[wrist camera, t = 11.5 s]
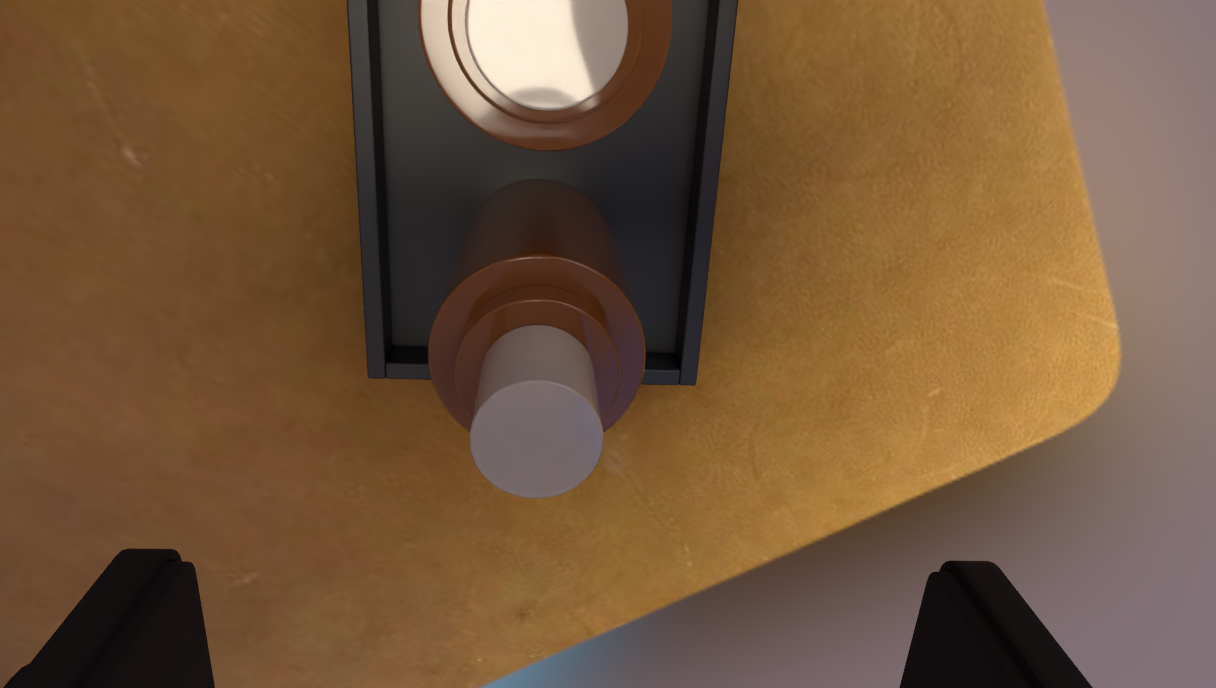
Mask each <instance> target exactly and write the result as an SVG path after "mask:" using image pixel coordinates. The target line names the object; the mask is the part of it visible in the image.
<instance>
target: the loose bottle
mask: <svg viewBox="0 0 1216 688" xmlns="http://www.w3.org/2000/svg"><path fill="white" fill-rule="evenodd" d="M428 362H429V370H430V374H431V378H432V382H433V385H434V387H435V390H436V392H437V394H438V396H439V398H440V400H441V401H442V403H443V405H444V406H445V408H446V409H447V410H448V412H449V413H450V414H451V416H452V417H453V418H454V419H455V420H456V421H457V422H458V423H459V424H460V425H461V426H463V427H464V428H465V429H466V430H468V431H469V432H470V436H469V442H470V450H471V454H472V457H473V459H474V462H475V464H476V465H477V467H478V469H479V470H480V472H481V473H482V474H483V475H484V476H485V477H486V478H487V479H488V480H489V481H490V482H491V483H492V484H494V485H495V486H496V487H498V488H500V489H501V490H503V491H505V492H508V493H510V494H513V495H517V496H521V497H526V498H545V497H552V496H555V495H559V494H562V493H564V492H567V491H569V490H571V489H572V488H574V487H576V486H577V485H579V484H580V483H581V482H582V481H584V480H585V479H586V478H587V477H588V476H589V474H590V473H591V472H592V471H593V469H594V468H595V466H596V465H597V463H598V461H599V459H600V456H601V453H602V449H603V442H604V434H603V433H604V432H605V431H606V430H608V429H609V428H610V427H611V426H612V425H613V424H614V423H616V422H617V421H618V420H619V419H620V418H621V416H622V415H623V414H624V413H625V411H626V410H627V409H628V408H629V406H630V404H631V403H632V401H633V400H634V398H635V396H636V394H637V391H638V389H639V387H640V384H641V381H642V378H643V374H644V368H645V362H646V347H645V339H644V333H643V330H642V326H641V323H640V319H639V316H638V313H637V310H636V307H635V303H634V300H633V297H632V294H631V290H630V287H629V284H628V281H627V278H626V274H625V271H624V268H623V265H622V262H621V258H620V255H619V252H618V249H617V245H616V242H615V239H614V236H613V233H612V229H611V227H610V225H609V223H608V220H607V219H606V217H605V215H604V214H603V212H602V211H601V210H600V208H599V207H598V206H597V205H596V204H595V203H594V202H593V201H592V200H591V199H590V198H589V197H588V196H586V195H585V194H584V193H582V192H581V191H579V190H577V189H576V188H574V187H572V186H570V185H567V184H564V183H562V182H558V181H554V180H546V179H529V180H523V181H518V182H515V183H511V184H509V185H507V186H504V187H502V188H500V189H499V190H497V191H496V192H494V193H492V194H491V195H490V196H489V197H487V198H486V199H485V200H484V201H483V202H482V203H481V204H480V205H479V206H478V208H477V209H476V211H475V212H474V213H473V215H472V217H471V219H470V221H469V222H468V225H467V227H466V230H465V233H464V236H463V239H462V242H461V245H460V248H459V250H458V253H457V256H456V259H455V262H454V265H453V268H452V271H451V273H450V276H449V279H448V282H447V285H446V288H445V291H444V294H443V296H442V299H441V302H440V305H439V308H438V311H437V314H436V317H435V319H434V322H433V325H432V328H431V332H430V337H429V342H428Z"/></svg>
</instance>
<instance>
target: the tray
mask: <svg viewBox="0 0 1216 688" xmlns="http://www.w3.org/2000/svg"><path fill="white" fill-rule="evenodd" d="M737 7H738V0H671V8H672V31H671V38H670V45H669V50H668V54H667V57H666V61H665V65H664V67H663V70H662V72H661V74H660V77H659V79H658V81H657V83H656V85H655V87H654V88H653V90H652V92H651V94H650V95H649V97H648V98H647V99H646V101H645V102H644V103H643V105H642V106H641V108H640V109H639V110H638V111H637V112H636V113H635V114H634V115H633V116H632V117H631V118H630V119H629V120H628V121H627V122H625V123H624V124H623V125H622V126H620V127H619V128H618V129H617V130H615V131H613V132H612V133H610V134H609V135H607V136H605V137H604V138H602V139H599V140H597V141H595V142H592V143H590V144H588V145H584V146H581V147H577V148H574V149H567V150H561V151H537V150H528V149H523V148H519V147H515V146H511V145H509V144H506V143H504V142H501V141H499V140H496V139H494V138H493V137H491V136H489V135H487V134H485V133H484V132H482V131H480V130H479V129H478V128H476V127H475V126H474V125H472V124H471V123H469V122H468V121H467V120H466V119H465V118H464V117H463V116H462V115H461V114H460V113H459V112H458V111H457V110H456V109H455V108H454V107H453V106H452V104H451V103H450V102H449V101H448V100H447V98H446V97H445V96H444V94H443V93H442V91H441V90H440V88H439V86H438V85H437V83H436V81H435V79H434V77H433V75H432V73H431V71H430V69H429V67H428V64H427V61H426V58H425V55H424V52H423V49H422V44H421V40H420V35H419V27H418V16H417V12H418V0H347V13H348V30H349V48H350V66H351V84H352V102H353V120H354V138H355V155H356V173H357V191H358V209H359V227H360V245H361V263H362V280H363V298H364V316H365V334H366V352H367V370H368V378H380V379H384V378H386V377H387V378H388V379H429V380H432V378H431V374H430V370H429V362H428V342H429V337H430V332H431V328H432V325H433V322H434V319H435V317H436V314H437V311H438V308H439V305H440V302H441V299H442V296H443V294H444V291H445V288H446V285H447V282H448V279H449V276H450V273H451V271H452V268H453V265H454V262H455V259H456V256H457V253H458V250H459V248H460V245H461V242H462V239H463V236H464V233H465V230H466V227H467V225H468V222H469V221H470V219H471V217H472V215H473V213H474V212H475V211H476V209H477V208H478V206H479V205H480V204H481V203H482V202H483V201H484V200H485V199H486V198H487V197H489V196H490V195H491V194H492V193H494V192H496V191H497V190H499V189H500V188H502V187H504V186H507V185H509V184H511V183H515V182H518V181H523V180H529V179H546V180H554V181H558V182H562V183H564V184H567V185H570V186H572V187H574V188H576V189H577V190H579V191H581V192H582V193H584V194H585V195H586V196H588V197H589V198H590V199H591V200H592V201H593V202H594V203H595V204H596V205H597V206H598V207H599V208H600V210H601V211H602V212H603V214H604V215H605V217H606V219H607V220H608V223H609V225H610V227H611V229H612V233H613V236H614V239H615V242H616V245H617V249H618V252H619V255H620V258H621V262H622V265H623V268H624V271H625V274H626V278H627V281H628V284H629V287H630V290H631V294H632V297H633V300H634V303H635V307H636V310H637V313H638V316H639V319H640V323H641V326H642V330H643V333H644V339H645V347H646V362H645V368H644V374H643V378H642V381H641V384H648V385H678V384H679V385H691V386H694V385H696V379H697V370H698V361H699V352H700V343H701V334H702V325H703V316H704V307H705V298H706V289H707V280H708V270H709V261H710V252H711V243H712V234H713V225H714V216H715V207H716V198H717V189H718V180H719V171H720V162H721V152H722V143H723V134H724V125H725V116H726V107H727V98H728V89H729V80H730V71H731V62H732V53H733V44H734V35H735V25H736V16H737Z"/></svg>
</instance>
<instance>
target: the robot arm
mask: <svg viewBox="0 0 1216 688" xmlns="http://www.w3.org/2000/svg"><path fill="white" fill-rule="evenodd" d="M4 688H215V686H214V680H213V674H212V668H211V662H210V656H209V650H208V643H207V637H206V631H205V625H204V619H203V613H202V607H201V601H200V595H199V588H198V582H197V576H196V571H195V567H194V565H193V564H192V563H191V562H182V560H181V557H180V555H179V553H178V552H177V551H176V550H173V549H125V550H122V551H121V552H120V553H119V554H118V555H117V556H116V557H115V558H114V559H113V560H112V562H111V563H110V564H109V565H108V567H107V568H106V569H105V570H104V572H103V573H102V574H101V575H100V577H99V578H98V579H97V580H96V582H95V583H94V584H93V585H92V587H91V588H90V589H89V590H88V592H87V593H86V594H85V595H84V597H83V598H82V599H81V600H80V602H79V603H78V604H77V605H76V607H75V608H74V609H73V610H72V612H71V613H70V614H69V615H68V617H67V618H66V619H65V620H64V622H63V623H62V624H61V625H60V627H59V628H58V629H57V630H56V632H55V633H54V634H53V635H52V637H51V638H50V639H49V640H48V642H47V643H46V644H45V645H44V647H43V648H42V649H41V650H40V652H39V653H38V654H37V655H36V657H35V658H34V659H33V660H32V662H31V663H30V664H28V665H26V666H24V667H22V668H21V669H20V670H19V671H18V672H17V673H16V674H15V675H14V676H13V677H12V678H11V679H10V680H9V681H8V683H7V684H6V685H5V686H4ZM900 688H1092V686H1091V685H1090V684H1089V683H1088V681H1087V680H1086V679H1085V677H1084V676H1083V675H1082V674H1081V672H1080V671H1079V670H1078V668H1077V667H1076V666H1075V665H1074V663H1073V662H1072V661H1071V659H1070V658H1069V657H1068V656H1067V654H1066V653H1065V652H1064V650H1063V649H1062V648H1061V647H1060V646H1059V644H1058V643H1057V642H1056V640H1055V639H1054V638H1053V636H1052V635H1051V634H1050V632H1049V631H1048V630H1047V629H1046V627H1045V626H1044V625H1043V623H1042V622H1041V621H1040V620H1039V618H1038V617H1037V616H1036V615H1035V613H1034V612H1033V611H1032V609H1031V608H1030V607H1029V605H1028V604H1027V603H1026V602H1025V600H1024V599H1023V598H1022V596H1021V595H1020V594H1019V593H1018V591H1017V590H1016V589H1015V587H1014V586H1013V585H1012V584H1011V582H1010V581H1009V580H1008V579H1007V577H1006V576H1005V575H1004V573H1003V572H1002V571H1001V569H1000V568H999V567H998V566H997V565H995V564H994V563H992V562H989V561H947V562H945V563H944V564H943V565H942V566H941V569H940V571H939V572H933V573H931V574H930V575H929V577H928V580H927V583H926V587H925V591H924V595H923V599H922V603H921V607H920V610H919V615H918V618H917V622H916V626H915V630H914V634H913V638H912V642H911V645H910V649H909V653H908V657H907V661H906V665H905V669H904V673H903V676H902V680H901V685H900Z"/></svg>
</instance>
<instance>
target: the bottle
mask: <svg viewBox="0 0 1216 688" xmlns="http://www.w3.org/2000/svg"><path fill="white" fill-rule="evenodd" d="M417 16H418V27H419V35H420V40H421V44H422V49H423V52H424V55H425V58H426V61H427V64H428V67H429V69H430V71H431V73H432V75H433V77H434V79H435V81H436V83H437V85H438V86H439V88H440V90H441V91H442V93H443V94H444V96H445V97H446V98H447V100H448V101H449V102H450V103H451V104H452V106H453V107H454V108H455V109H456V110H457V111H458V112H459V113H460V114H461V115H462V116H463V117H464V118H465V119H466V120H467V121H468V122H469V123H471V124H472V125H474V126H475V127H476V128H478V129H479V130H480V131H482V132H484V133H485V134H487V135H489V136H491V137H493V138H494V139H496V140H499V141H501V142H504V143H506V144H509V145H511V146H515V147H519V148H523V149H528V150H537V151H561V150H567V149H574V148H577V147H581V146H584V145H588V144H590V143H592V142H595V141H597V140H599V139H602V138H604V137H605V136H607V135H609V134H610V133H612V132H613V131H615V130H617V129H618V128H619V127H620V126H622V125H623V124H624V123H625V122H627V121H628V120H629V119H630V118H631V117H632V116H633V115H634V114H635V113H636V112H637V111H638V110H639V109H640V108H641V106H642V105H643V103H644V102H645V101H646V99H647V98H648V97H649V95H650V94H651V92H652V90H653V88H654V87H655V85H656V83H657V81H658V79H659V77H660V74H661V72H662V70H663V67H664V65H665V61H666V57H667V54H668V50H669V45H670V38H671V31H672V8H671V0H418V12H417Z"/></svg>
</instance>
